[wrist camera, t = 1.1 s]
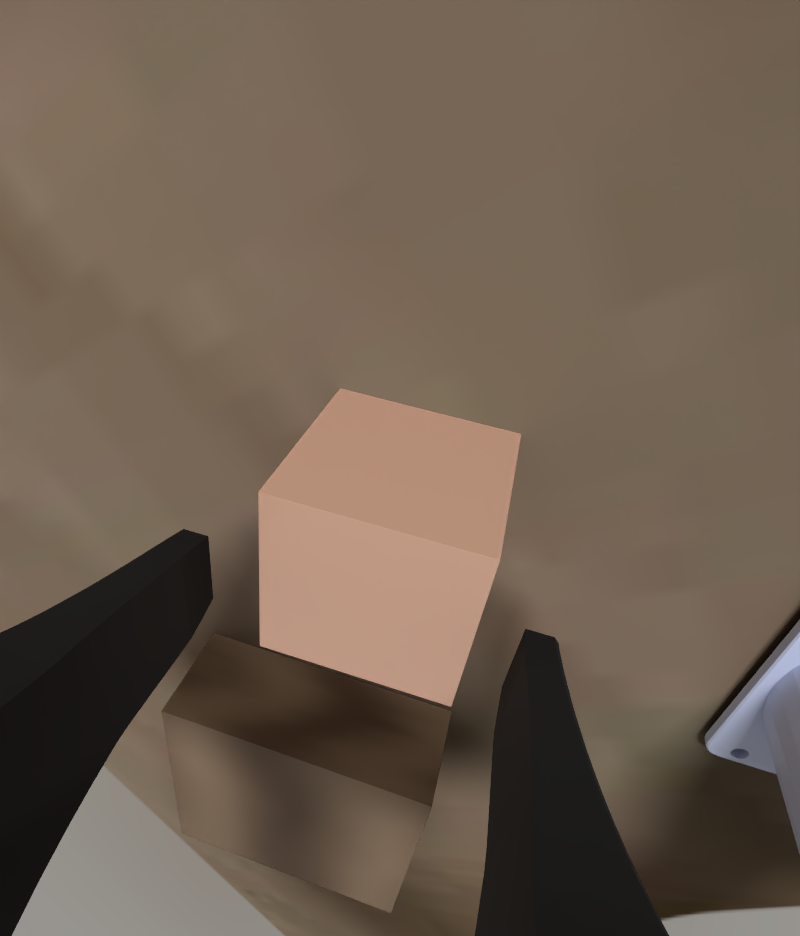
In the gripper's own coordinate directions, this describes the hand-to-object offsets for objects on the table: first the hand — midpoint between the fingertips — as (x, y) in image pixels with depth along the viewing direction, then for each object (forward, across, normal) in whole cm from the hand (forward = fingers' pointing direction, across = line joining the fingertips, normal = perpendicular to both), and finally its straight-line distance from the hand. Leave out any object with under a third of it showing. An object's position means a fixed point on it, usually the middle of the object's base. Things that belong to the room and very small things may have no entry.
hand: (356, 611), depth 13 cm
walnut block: (+5, +2, +15) cm, 16 cm away
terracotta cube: (+5, 0, 0) cm, 5 cm away
